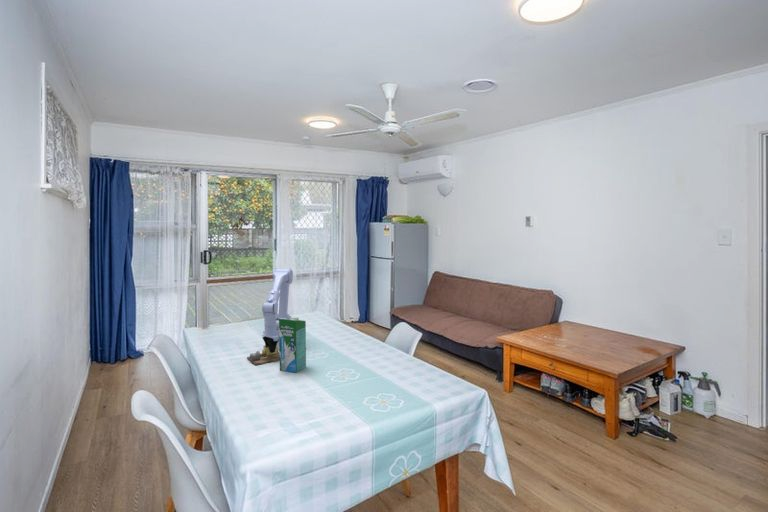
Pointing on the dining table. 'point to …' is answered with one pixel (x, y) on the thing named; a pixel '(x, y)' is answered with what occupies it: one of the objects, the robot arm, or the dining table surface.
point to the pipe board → (262, 358)
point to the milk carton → (292, 344)
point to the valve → (268, 351)
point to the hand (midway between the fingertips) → (270, 351)
